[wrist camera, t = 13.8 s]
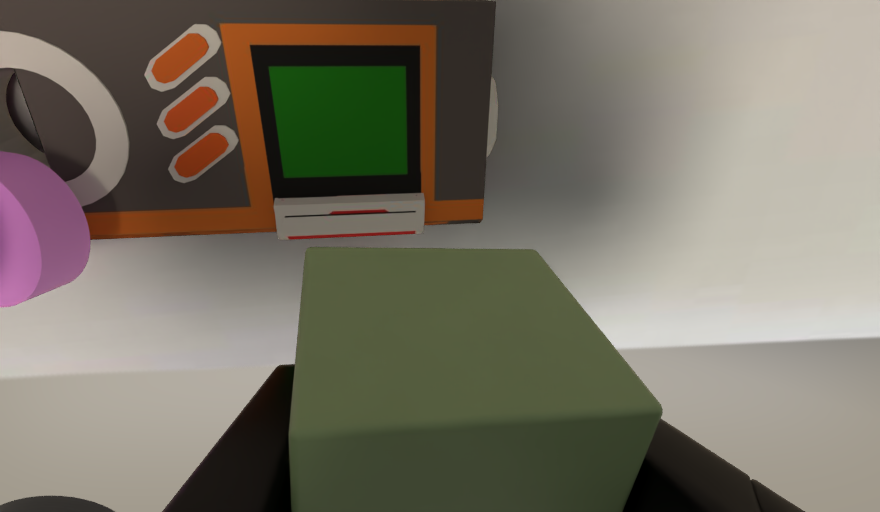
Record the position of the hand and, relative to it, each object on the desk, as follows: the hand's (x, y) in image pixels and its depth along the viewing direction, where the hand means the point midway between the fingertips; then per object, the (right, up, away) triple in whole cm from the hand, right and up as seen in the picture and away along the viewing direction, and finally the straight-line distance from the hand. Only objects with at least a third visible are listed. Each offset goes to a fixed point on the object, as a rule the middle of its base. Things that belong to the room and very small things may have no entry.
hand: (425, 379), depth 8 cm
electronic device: (-6, +7, +8) cm, 12 cm away
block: (0, 0, +1) cm, 1 cm away
